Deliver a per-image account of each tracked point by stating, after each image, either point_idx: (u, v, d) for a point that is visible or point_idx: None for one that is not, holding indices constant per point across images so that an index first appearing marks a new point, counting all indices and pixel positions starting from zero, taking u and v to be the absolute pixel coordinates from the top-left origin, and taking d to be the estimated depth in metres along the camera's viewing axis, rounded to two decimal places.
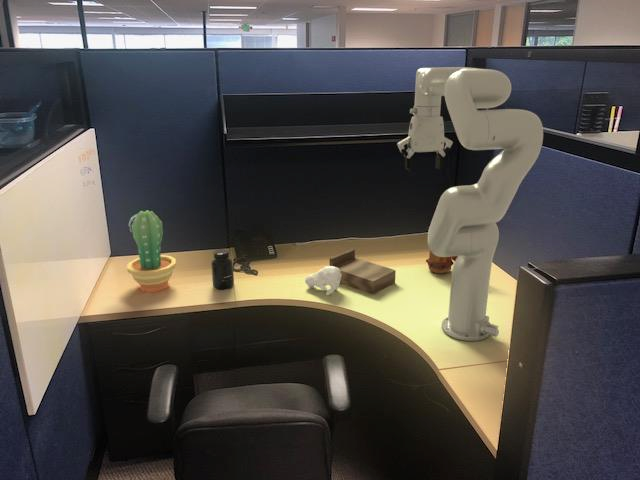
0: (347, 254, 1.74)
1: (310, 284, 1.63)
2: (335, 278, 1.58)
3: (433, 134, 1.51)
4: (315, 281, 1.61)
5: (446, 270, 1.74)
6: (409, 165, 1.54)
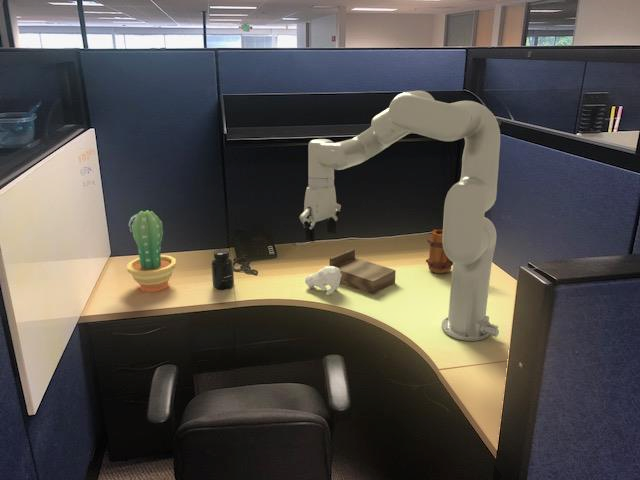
0: (347, 254, 1.74)
1: (310, 284, 1.63)
2: (335, 278, 1.58)
3: None
4: (315, 281, 1.61)
5: (446, 270, 1.74)
6: None
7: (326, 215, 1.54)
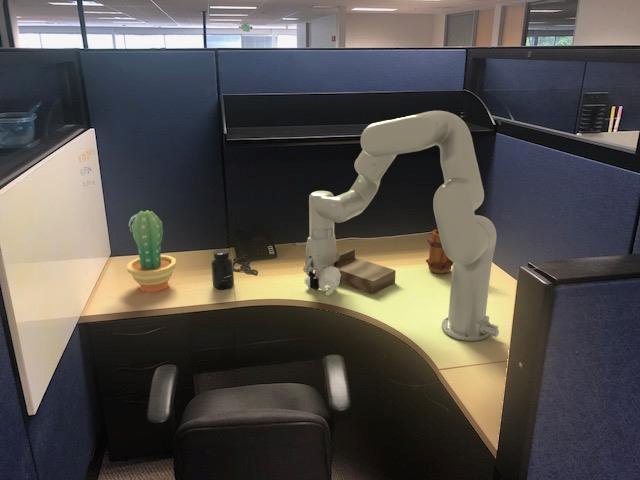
0: (347, 254, 1.74)
1: (309, 284, 1.63)
2: (334, 278, 1.57)
3: None
4: None
5: (446, 270, 1.74)
6: None
7: (327, 263, 1.59)
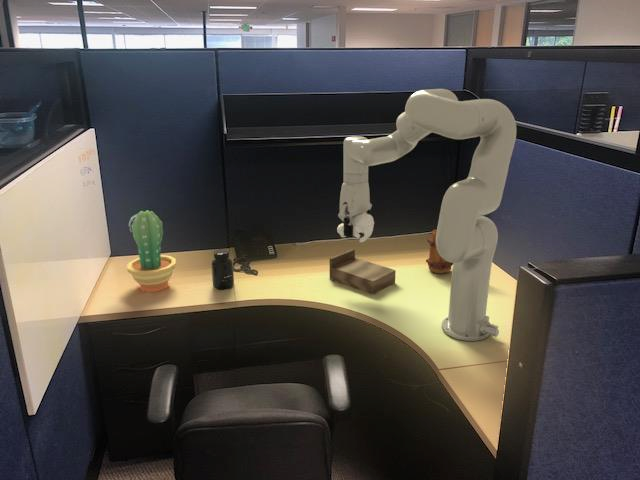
0: (347, 254, 1.74)
1: (343, 232, 1.62)
2: (369, 224, 1.57)
3: None
4: None
5: (446, 270, 1.74)
6: None
7: (361, 210, 1.59)
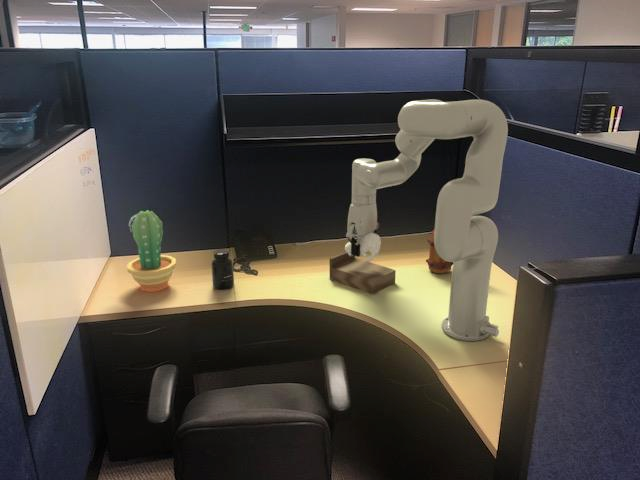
0: (347, 254, 1.74)
1: (350, 251, 1.66)
2: (376, 244, 1.61)
3: None
4: None
5: (446, 270, 1.74)
6: None
7: (368, 230, 1.63)
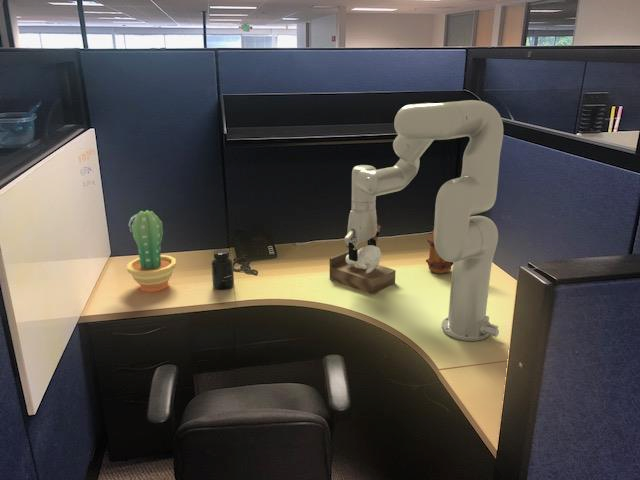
0: (347, 254, 1.74)
1: (350, 262, 1.68)
2: (375, 257, 1.62)
3: None
4: None
5: (446, 270, 1.74)
6: None
7: (368, 236, 1.63)
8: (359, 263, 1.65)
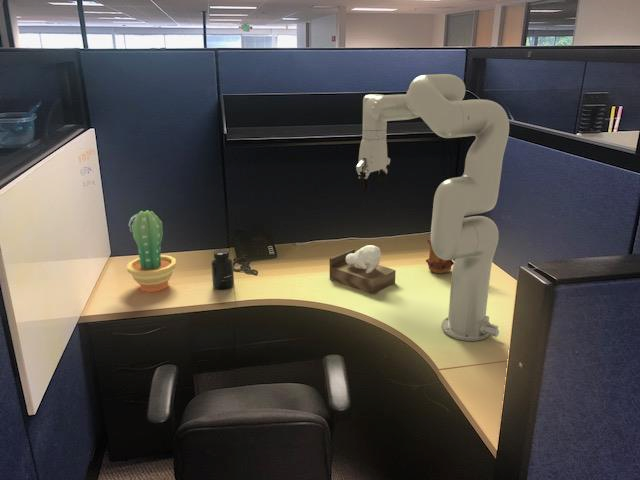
0: (347, 254, 1.74)
1: (350, 262, 1.68)
2: (375, 257, 1.62)
3: None
4: (355, 260, 1.65)
5: (446, 270, 1.74)
6: None
7: (379, 166, 1.65)
8: (359, 263, 1.65)
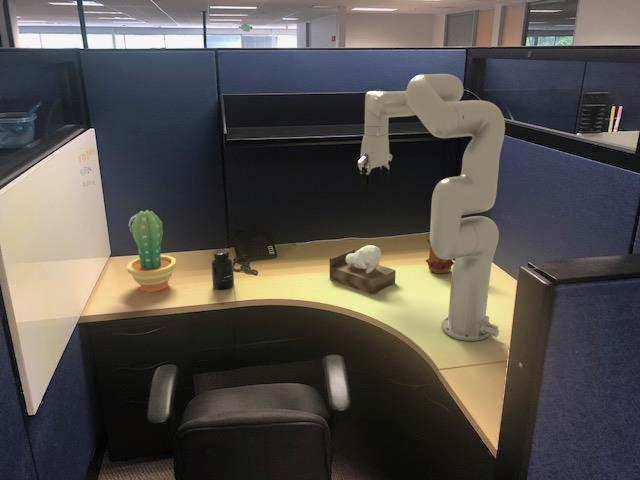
0: (347, 254, 1.74)
1: (350, 262, 1.68)
2: (375, 257, 1.62)
3: None
4: (355, 260, 1.65)
5: (446, 270, 1.74)
6: None
7: (380, 162, 1.67)
8: (359, 263, 1.65)
